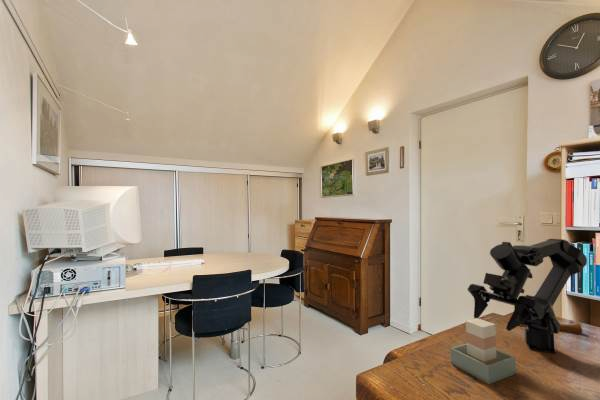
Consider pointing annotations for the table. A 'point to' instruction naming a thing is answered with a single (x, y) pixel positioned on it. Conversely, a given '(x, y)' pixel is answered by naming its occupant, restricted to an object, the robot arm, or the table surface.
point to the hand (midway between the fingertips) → (490, 323)
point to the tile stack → (481, 341)
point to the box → (483, 365)
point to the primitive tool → (568, 328)
